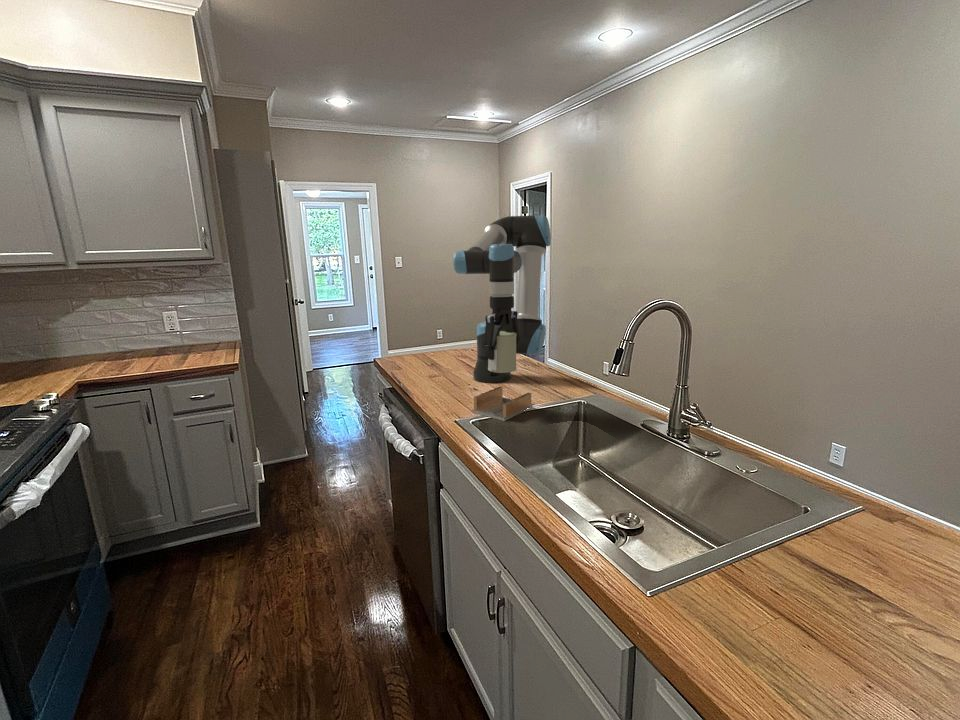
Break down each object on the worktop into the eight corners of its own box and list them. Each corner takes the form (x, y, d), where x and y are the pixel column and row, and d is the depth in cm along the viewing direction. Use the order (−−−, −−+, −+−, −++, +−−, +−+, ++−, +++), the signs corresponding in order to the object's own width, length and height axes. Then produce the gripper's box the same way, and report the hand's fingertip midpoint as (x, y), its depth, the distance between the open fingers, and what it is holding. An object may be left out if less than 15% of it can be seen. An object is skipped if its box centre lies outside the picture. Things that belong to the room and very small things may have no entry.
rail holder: (501, 399, 166) (501, 385, 165) (532, 406, 158) (533, 392, 157) (471, 412, 154) (471, 397, 153) (504, 421, 146) (504, 405, 145)
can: (482, 371, 151) (482, 333, 148) (495, 364, 158) (495, 328, 156) (509, 374, 146) (509, 335, 144) (521, 367, 154) (521, 330, 151)
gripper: (512, 291, 157) (512, 358, 163) (469, 298, 141) (471, 371, 146) (531, 292, 153) (530, 361, 158) (489, 299, 136) (490, 375, 142)
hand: (502, 366), depth 152 cm, fingers closed on can, 9 cm apart
